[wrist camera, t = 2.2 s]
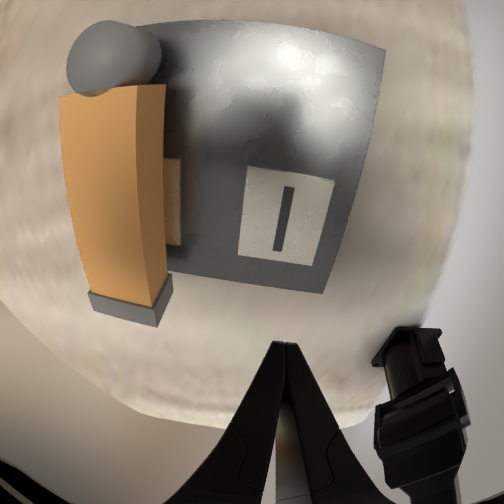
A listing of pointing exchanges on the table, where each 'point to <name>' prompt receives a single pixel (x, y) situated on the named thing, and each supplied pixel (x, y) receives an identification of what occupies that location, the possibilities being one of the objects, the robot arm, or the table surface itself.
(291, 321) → the table surface
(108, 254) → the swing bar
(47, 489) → the robot arm
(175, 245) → the label panel
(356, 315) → the table surface
